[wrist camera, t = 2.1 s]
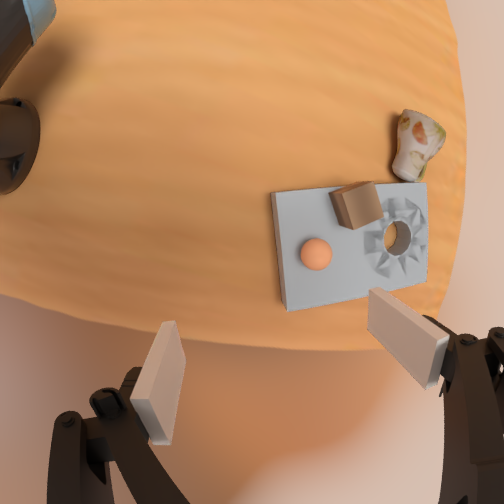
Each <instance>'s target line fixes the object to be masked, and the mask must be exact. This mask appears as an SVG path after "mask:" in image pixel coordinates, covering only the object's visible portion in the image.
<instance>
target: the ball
mask: <svg viewBox="0 0 504 504" xmlns="http://www.w3.org/2000/svg"><path fill="white" fill-rule="evenodd" d="M332 256H333V254H332V249H331V247H330V245H329V244H328V243H327V242H326V241H325V240H322V239H319V238H315V239H311V240H309V241H307V242H306V243H305V244H304V245H303V247H302V249H301V260H302V262H303V264H304V265H305V266H306V267H307V268H309V269H311V270H315V271H319V270H322V269H325V268H326V267H327V266H328V265H329V264H330V262H331V260H332Z"/></svg>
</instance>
